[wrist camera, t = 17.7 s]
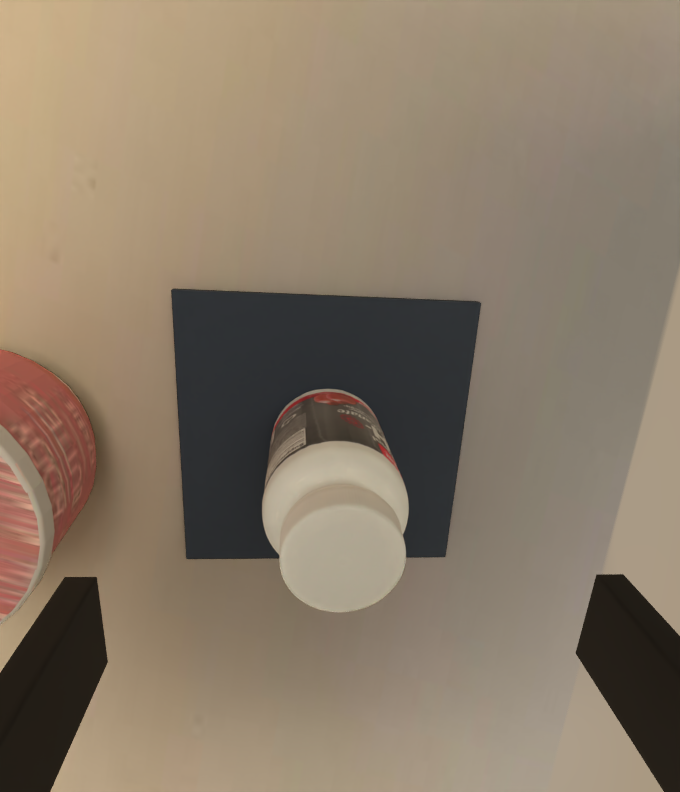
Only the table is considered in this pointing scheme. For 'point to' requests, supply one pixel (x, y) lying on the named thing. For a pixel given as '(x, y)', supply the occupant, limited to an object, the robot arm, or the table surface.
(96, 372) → the table surface
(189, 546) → the mat
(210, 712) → the table surface
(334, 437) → the pill bottle
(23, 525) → the container
